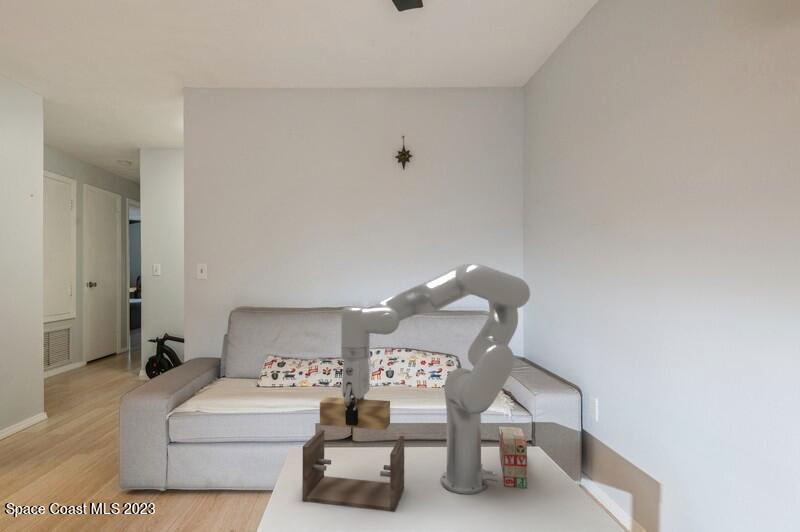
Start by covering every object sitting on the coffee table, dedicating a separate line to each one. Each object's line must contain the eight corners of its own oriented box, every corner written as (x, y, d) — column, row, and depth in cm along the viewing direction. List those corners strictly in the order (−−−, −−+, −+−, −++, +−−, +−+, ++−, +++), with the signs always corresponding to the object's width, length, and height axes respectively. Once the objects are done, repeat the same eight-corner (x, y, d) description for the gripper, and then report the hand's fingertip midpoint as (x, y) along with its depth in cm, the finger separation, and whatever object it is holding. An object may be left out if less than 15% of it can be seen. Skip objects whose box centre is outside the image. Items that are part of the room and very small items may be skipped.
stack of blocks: (498, 455, 140) (498, 416, 140) (518, 456, 139) (518, 417, 139) (503, 487, 118) (503, 442, 119) (527, 489, 117) (527, 443, 118)
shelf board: (390, 423, 115) (390, 400, 116) (385, 430, 111) (385, 406, 111) (326, 418, 119) (326, 397, 119) (319, 425, 114) (319, 402, 114)
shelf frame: (404, 487, 118) (404, 436, 118) (394, 511, 106) (394, 454, 106) (320, 479, 123) (320, 429, 123) (302, 501, 111) (302, 446, 111)
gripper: (359, 359, 106) (359, 434, 106) (377, 348, 123) (377, 412, 122) (330, 358, 108) (330, 431, 107) (352, 347, 124) (351, 410, 124)
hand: (355, 420), depth 115 cm, fingers closed on shelf board, 5 cm apart
